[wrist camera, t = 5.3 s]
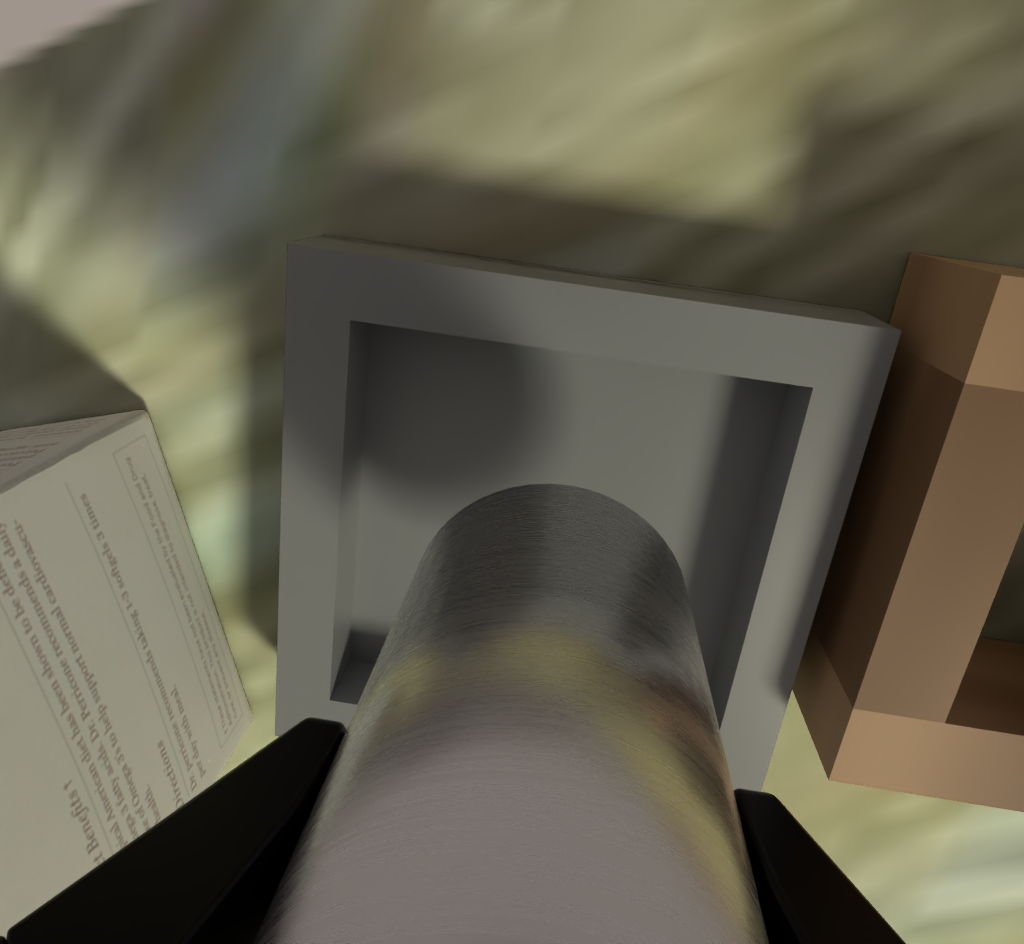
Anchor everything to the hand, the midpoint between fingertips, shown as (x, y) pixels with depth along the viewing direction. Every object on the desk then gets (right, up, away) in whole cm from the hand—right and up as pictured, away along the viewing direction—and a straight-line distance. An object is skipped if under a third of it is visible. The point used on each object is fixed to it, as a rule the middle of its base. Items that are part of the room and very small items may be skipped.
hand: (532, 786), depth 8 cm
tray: (+1, +3, +7) cm, 7 cm away
